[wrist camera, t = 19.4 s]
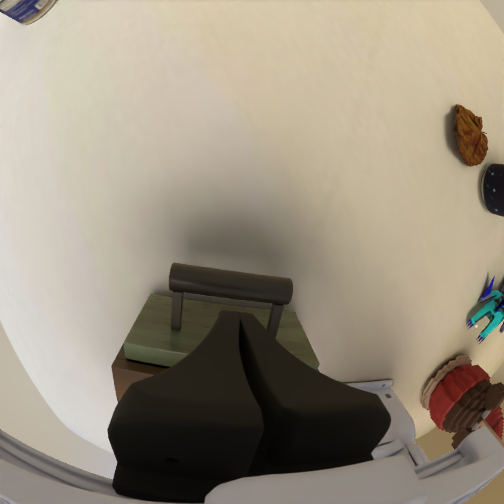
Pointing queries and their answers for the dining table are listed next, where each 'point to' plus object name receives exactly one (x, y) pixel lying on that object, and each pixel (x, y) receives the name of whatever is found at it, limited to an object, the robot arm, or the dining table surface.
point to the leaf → (470, 136)
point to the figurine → (490, 311)
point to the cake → (464, 400)
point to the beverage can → (494, 189)
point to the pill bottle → (25, 9)
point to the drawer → (211, 315)
